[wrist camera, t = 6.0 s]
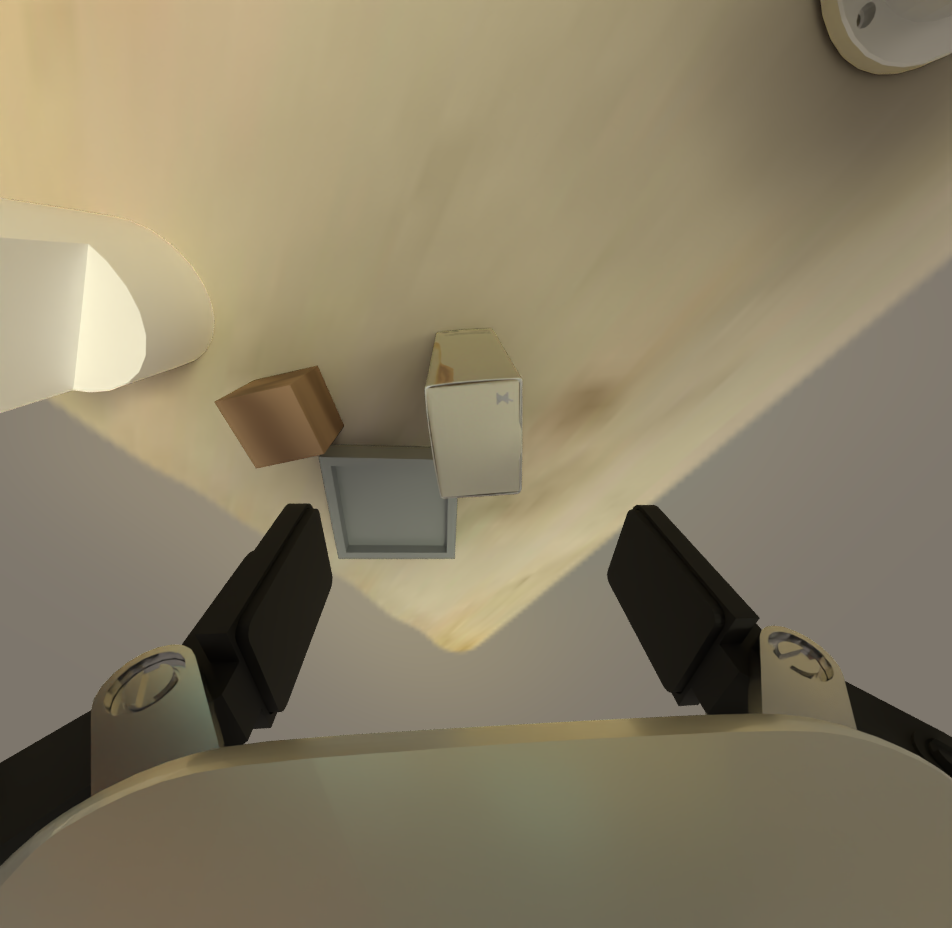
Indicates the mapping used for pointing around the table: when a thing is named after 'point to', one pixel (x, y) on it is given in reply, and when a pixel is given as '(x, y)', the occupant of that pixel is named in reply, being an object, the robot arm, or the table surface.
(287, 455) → the walnut block
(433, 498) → the slate tray
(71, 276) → the base with upright slab
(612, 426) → the table surface
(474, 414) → the skincare box
